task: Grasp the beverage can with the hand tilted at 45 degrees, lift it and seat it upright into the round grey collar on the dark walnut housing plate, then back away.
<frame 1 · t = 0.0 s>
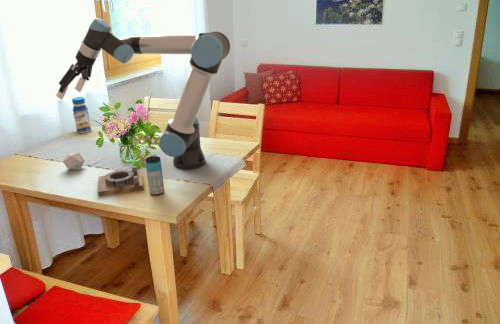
hand: (68, 93, 181), 36 cm above the table, tool tilted 35°, fingers open, 13 cm apart
housing: (120, 184, 178), on the table
die: (75, 169, 196), on the table
beverage can: (157, 193, 170), on the table
beverage bottle: (84, 131, 249), on the table
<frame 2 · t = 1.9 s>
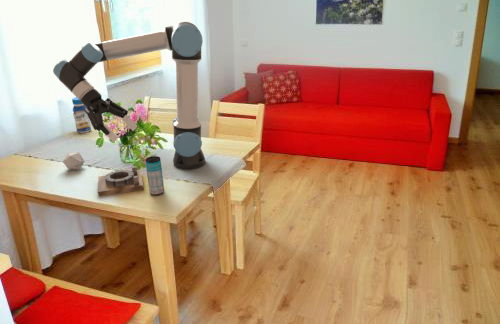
hand: (126, 134, 164), 25 cm above the table, tool tilted 45°, fingers open, 13 cm apart
nothing on the table moved.
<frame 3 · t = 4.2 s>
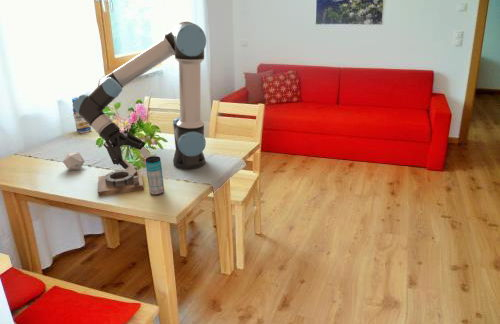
hand: (143, 166, 166), 12 cm above the table, tool tilted 45°, fingers open, 13 cm apart
nothing on the table moved.
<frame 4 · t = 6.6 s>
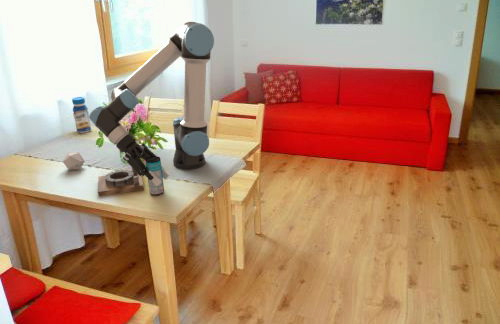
hand: (163, 180, 167), 6 cm above the table, tool tilted 45°, fingers closed on beverage can, 6 cm apart
beverage can: (157, 193, 170), on the table, touching gripper
everything else where it was.
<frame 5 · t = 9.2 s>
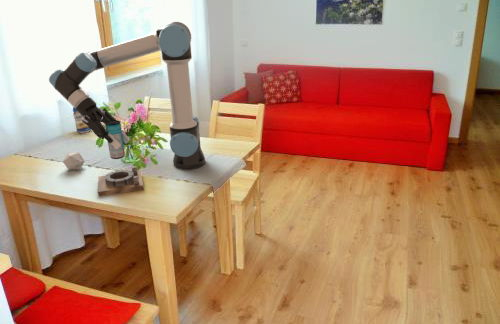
hand: (123, 144, 169), 19 cm above the table, tool tilted 45°, fingers closed on beverage can, 6 cm apart
beverage can: (117, 157, 172), point 13 cm above the table, touching gripper
everything else where it was.
when the fingers open (9 cm above the table, at t = 12.0 s): beverage can stays where it is, resting on housing.
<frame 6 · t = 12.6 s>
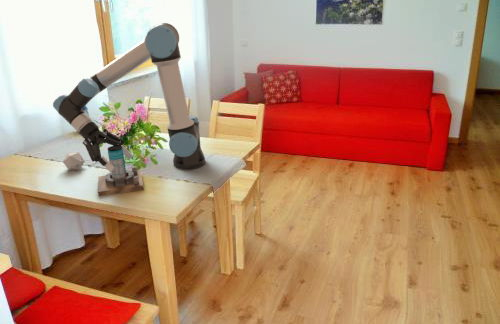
hand: (122, 163, 173), 10 cm above the table, tool tilted 45°, fingers open, 13 cm apart
beverage can: (120, 181, 177), point 2 cm above the table, touching housing
everything else where it was.
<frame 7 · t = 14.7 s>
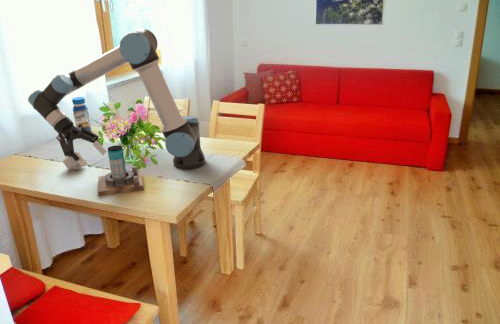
hand: (95, 159, 177), 11 cm above the table, tool tilted 45°, fingers open, 13 cm apart
nothing on the table moved.
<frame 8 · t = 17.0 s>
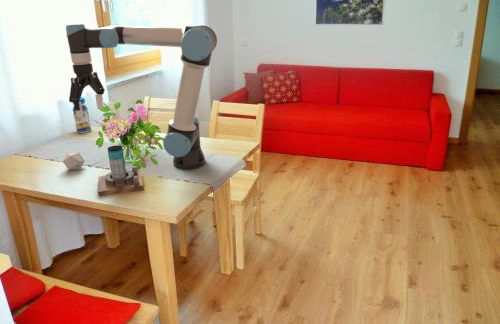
hand: (90, 113, 178), 29 cm above the table, tool pointing down, fingers open, 13 cm apart
nothing on the table moved.
at the end: beverage can 0.1 cm off-centre on the housing, point 1.8 cm above the housing's base; beverage can tilted 0°; the gripper is holding nothing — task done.
